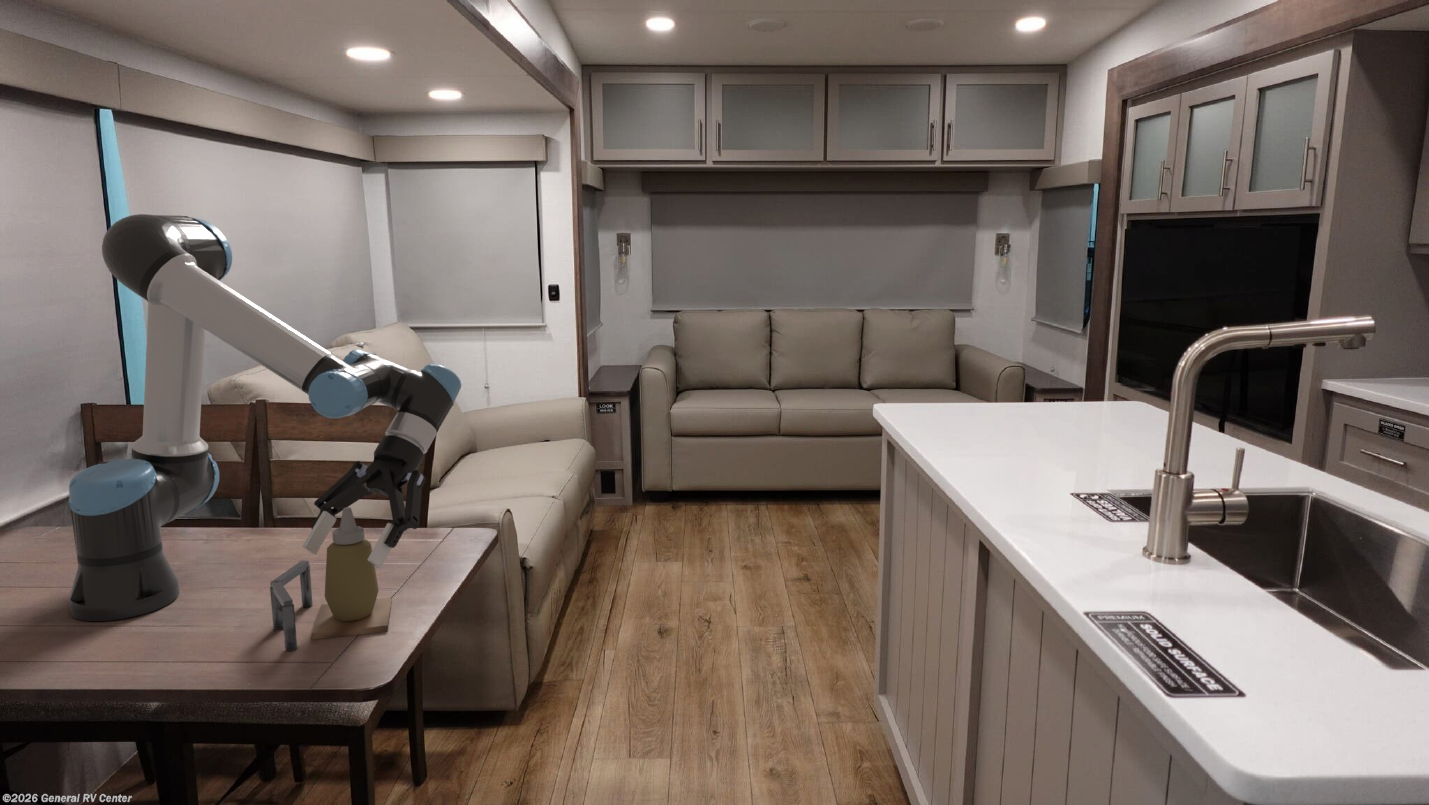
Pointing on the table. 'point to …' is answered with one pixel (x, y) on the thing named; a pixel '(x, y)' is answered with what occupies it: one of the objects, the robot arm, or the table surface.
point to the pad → (352, 622)
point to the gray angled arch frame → (289, 601)
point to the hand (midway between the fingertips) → (340, 557)
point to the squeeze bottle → (350, 572)
